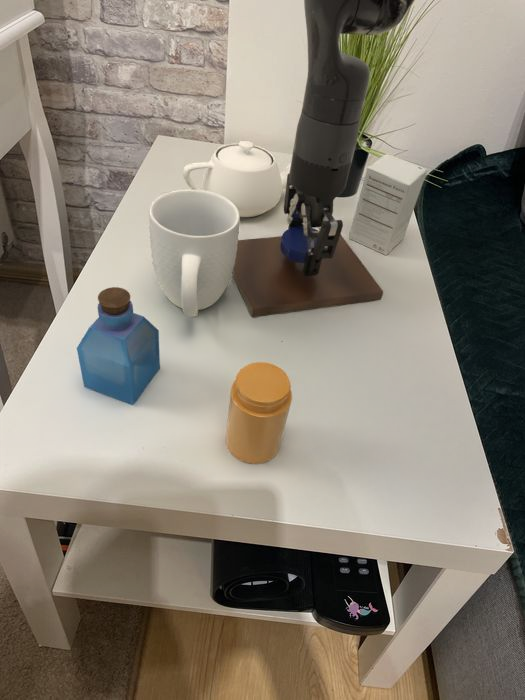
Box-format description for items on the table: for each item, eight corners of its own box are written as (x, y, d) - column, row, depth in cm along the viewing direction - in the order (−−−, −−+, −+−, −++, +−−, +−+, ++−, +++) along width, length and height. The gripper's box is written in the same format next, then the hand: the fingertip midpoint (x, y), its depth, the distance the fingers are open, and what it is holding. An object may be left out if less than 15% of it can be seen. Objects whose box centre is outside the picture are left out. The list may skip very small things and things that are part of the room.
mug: (232, 345, 66) (241, 260, 57) (144, 340, 65) (138, 252, 56) (232, 273, 77) (240, 192, 68) (156, 268, 76) (153, 184, 66)
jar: (270, 413, 59) (282, 354, 53) (288, 457, 55) (304, 399, 49) (219, 423, 57) (224, 363, 51) (234, 469, 54) (242, 411, 47)
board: (336, 238, 87) (338, 230, 86) (381, 299, 77) (384, 291, 76) (220, 249, 81) (220, 241, 80) (251, 317, 70) (253, 309, 69)
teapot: (192, 229, 84) (193, 165, 76) (173, 187, 93) (173, 126, 85) (316, 219, 91) (329, 159, 83) (288, 180, 99) (297, 123, 92)
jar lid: (324, 238, 78) (326, 227, 77) (327, 265, 73) (329, 253, 72) (280, 235, 78) (281, 224, 76) (280, 262, 73) (281, 250, 72)
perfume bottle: (84, 386, 59) (68, 305, 50) (113, 351, 63) (103, 271, 55) (133, 405, 58) (125, 325, 49) (159, 368, 62) (157, 289, 54)
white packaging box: (366, 221, 92) (386, 152, 83) (404, 238, 89) (429, 168, 81) (346, 238, 87) (366, 166, 78) (386, 256, 85) (410, 184, 76)
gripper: (276, 126, 69) (261, 235, 80) (318, 179, 59) (295, 293, 71) (327, 125, 71) (306, 231, 83) (376, 176, 62) (344, 287, 73)
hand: (301, 259), depth 77 cm, fingers closed on jar lid, 6 cm apart
